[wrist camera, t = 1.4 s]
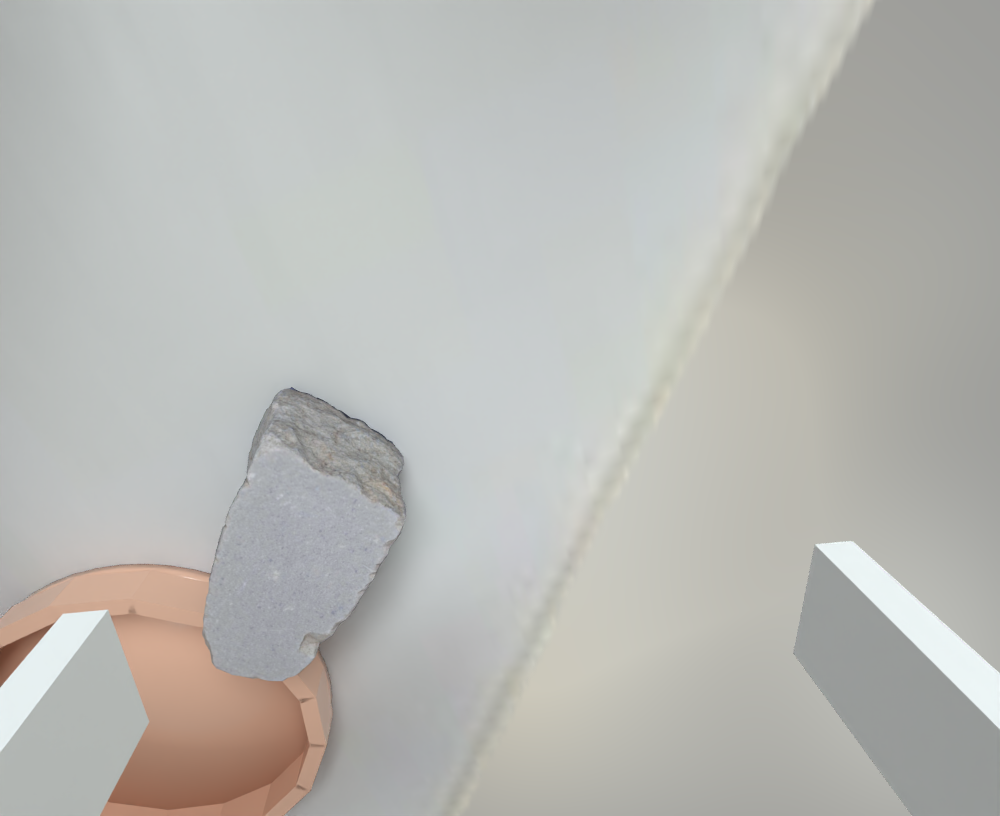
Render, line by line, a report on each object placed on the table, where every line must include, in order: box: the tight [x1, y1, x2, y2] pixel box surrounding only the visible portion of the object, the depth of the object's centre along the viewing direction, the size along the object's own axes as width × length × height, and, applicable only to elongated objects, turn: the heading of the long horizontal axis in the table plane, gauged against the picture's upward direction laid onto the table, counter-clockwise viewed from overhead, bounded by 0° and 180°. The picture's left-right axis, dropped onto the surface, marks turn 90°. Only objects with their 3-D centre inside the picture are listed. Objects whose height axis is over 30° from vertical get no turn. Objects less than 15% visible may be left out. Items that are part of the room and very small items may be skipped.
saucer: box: [0, 564, 333, 816], centre depth 37 cm, size 21×21×3 cm
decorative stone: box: [202, 387, 406, 681], centre depth 31 cm, size 15×7×10 cm
